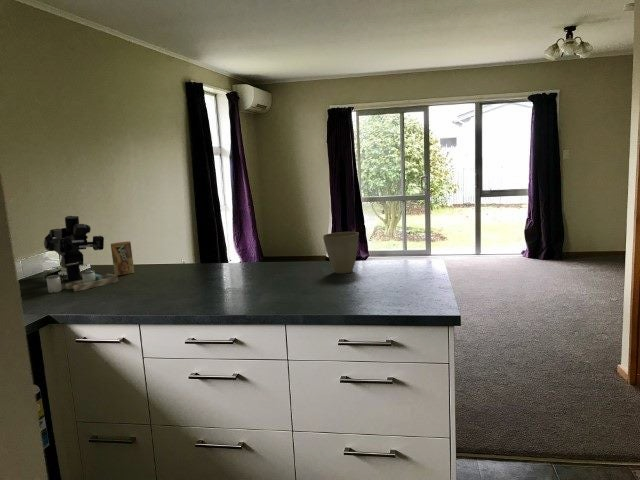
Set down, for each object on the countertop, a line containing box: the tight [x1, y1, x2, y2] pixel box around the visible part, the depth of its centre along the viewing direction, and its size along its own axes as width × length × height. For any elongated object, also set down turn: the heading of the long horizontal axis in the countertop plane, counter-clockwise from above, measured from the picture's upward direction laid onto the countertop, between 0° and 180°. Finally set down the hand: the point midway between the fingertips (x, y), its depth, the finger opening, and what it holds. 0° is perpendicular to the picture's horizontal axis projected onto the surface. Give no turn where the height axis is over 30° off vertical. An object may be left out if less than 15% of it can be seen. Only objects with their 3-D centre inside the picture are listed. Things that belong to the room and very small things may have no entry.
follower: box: [95, 273, 103, 281], centre depth 229 cm, size 1×6×4 cm, turn 48°
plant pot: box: [322, 231, 360, 275], centre depth 217 cm, size 15×15×16 cm
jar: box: [45, 274, 63, 294], centre depth 222 cm, size 5×5×7 cm
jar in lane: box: [81, 269, 96, 284], centre depth 227 cm, size 5×5×7 cm
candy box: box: [110, 240, 135, 276], centre depth 249 cm, size 9×4×15 cm, turn 116°
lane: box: [65, 273, 119, 292], centre depth 228 cm, size 19×9×3 cm, turn 138°
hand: (88, 248), depth 226 cm, fingers open, 9 cm apart
